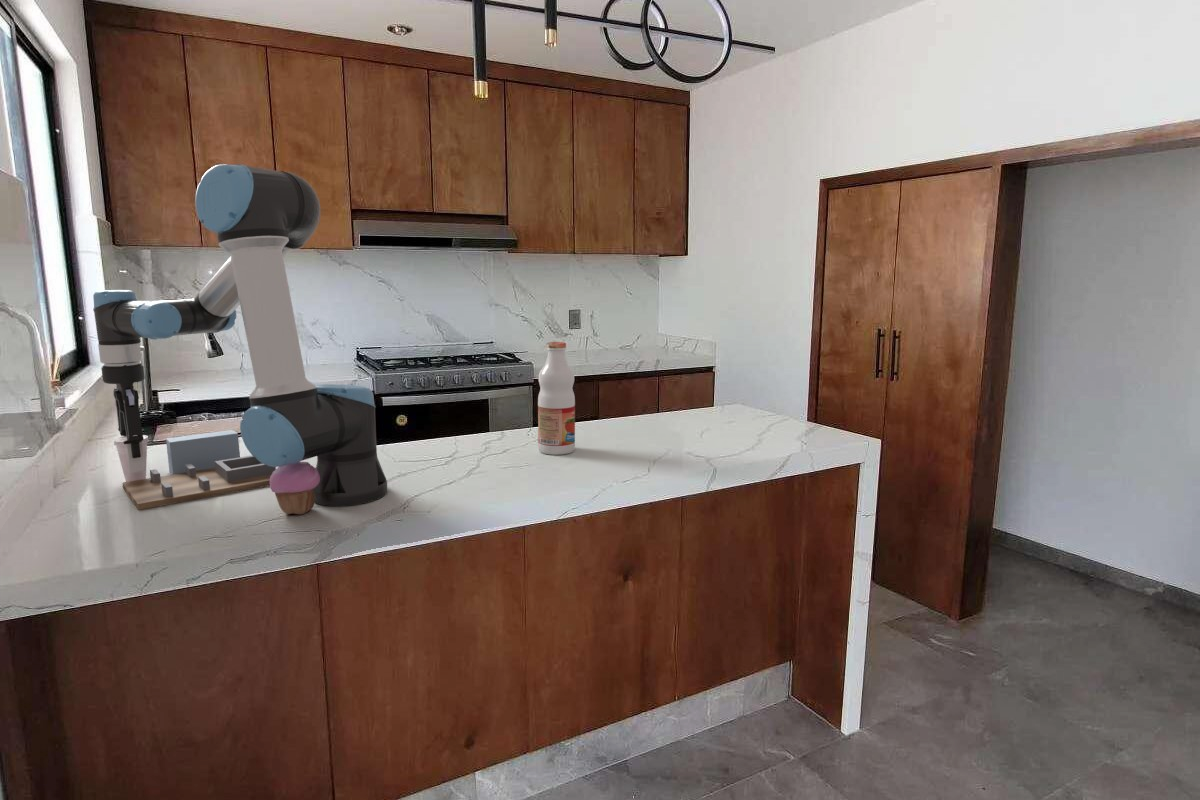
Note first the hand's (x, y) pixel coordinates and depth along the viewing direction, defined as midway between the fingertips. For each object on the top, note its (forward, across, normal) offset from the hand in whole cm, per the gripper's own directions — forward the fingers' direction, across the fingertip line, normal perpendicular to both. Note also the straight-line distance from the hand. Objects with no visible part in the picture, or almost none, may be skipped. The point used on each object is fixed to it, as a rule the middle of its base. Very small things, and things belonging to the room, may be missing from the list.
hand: (134, 468), depth 158 cm
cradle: (+2, -13, -19) cm, 23 cm away
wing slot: (+2, -13, -6) cm, 14 cm away
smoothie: (+3, 0, 0) cm, 3 cm away
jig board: (+3, -13, -11) cm, 17 cm away
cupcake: (+3, -43, -20) cm, 48 cm away
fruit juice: (+3, -38, -87) cm, 95 cm away
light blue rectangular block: (+3, +1, -14) cm, 14 cm away
